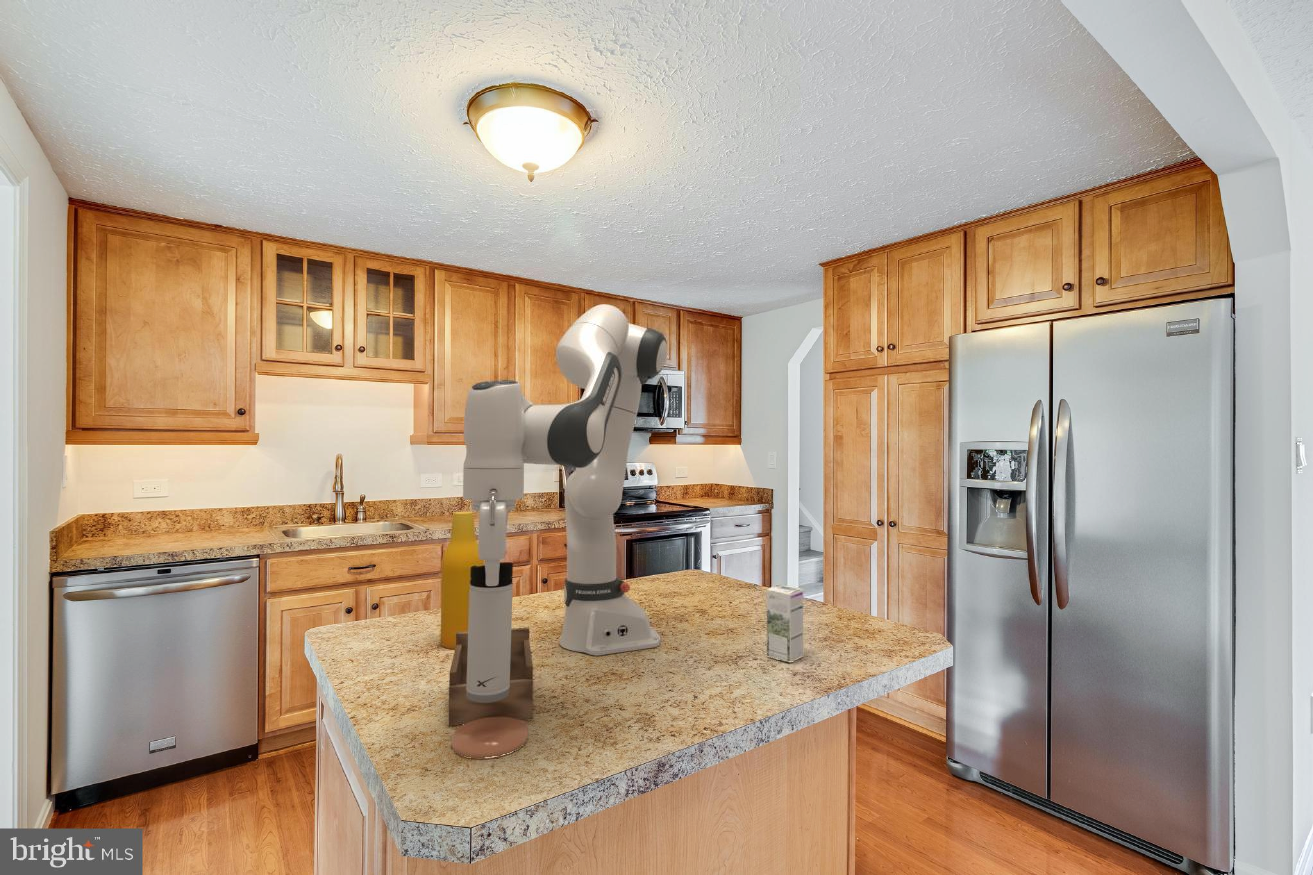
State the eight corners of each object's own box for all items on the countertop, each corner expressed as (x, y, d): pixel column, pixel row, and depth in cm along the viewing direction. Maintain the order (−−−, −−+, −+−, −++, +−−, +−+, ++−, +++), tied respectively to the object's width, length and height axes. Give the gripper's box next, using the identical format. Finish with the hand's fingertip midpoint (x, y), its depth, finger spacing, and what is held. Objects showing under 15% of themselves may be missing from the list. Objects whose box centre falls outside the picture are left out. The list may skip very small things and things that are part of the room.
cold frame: (528, 681, 117) (529, 627, 117) (532, 717, 101) (533, 655, 101) (456, 687, 114) (456, 632, 114) (448, 726, 98) (449, 662, 98)
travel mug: (485, 707, 89) (489, 567, 89) (457, 695, 93) (461, 560, 93) (519, 694, 94) (523, 561, 94) (491, 683, 98) (495, 555, 98)
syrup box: (804, 657, 130) (804, 587, 131) (789, 664, 126) (789, 592, 126) (780, 651, 134) (780, 583, 134) (765, 657, 130) (765, 588, 130)
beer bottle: (450, 652, 132) (451, 515, 132) (433, 642, 139) (434, 512, 139) (491, 643, 138) (492, 512, 139) (472, 634, 145) (473, 509, 146)
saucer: (526, 720, 100) (526, 713, 100) (529, 754, 89) (529, 745, 89) (454, 728, 97) (454, 720, 97) (448, 763, 87) (448, 754, 87)
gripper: (516, 492, 84) (515, 594, 84) (514, 482, 104) (512, 565, 104) (468, 492, 83) (466, 597, 83) (474, 482, 103) (473, 567, 103)
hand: (492, 579), depth 94 cm, fingers closed on travel mug, 6 cm apart
